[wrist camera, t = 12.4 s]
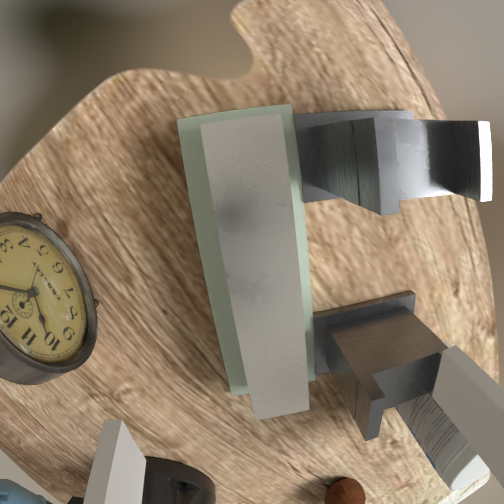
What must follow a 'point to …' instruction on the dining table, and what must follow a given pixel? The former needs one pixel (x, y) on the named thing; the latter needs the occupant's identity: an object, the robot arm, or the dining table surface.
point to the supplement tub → (442, 441)
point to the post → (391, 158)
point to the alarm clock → (41, 303)
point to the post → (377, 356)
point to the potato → (345, 493)
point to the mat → (211, 244)
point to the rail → (260, 257)
